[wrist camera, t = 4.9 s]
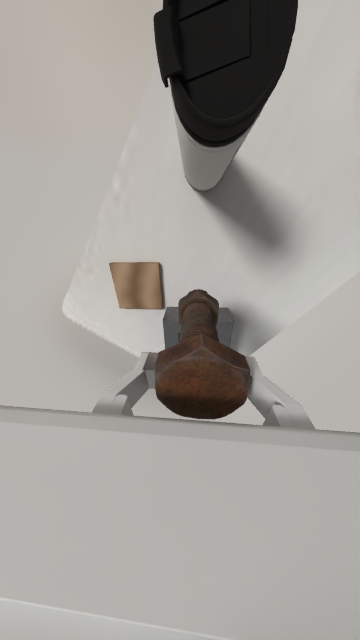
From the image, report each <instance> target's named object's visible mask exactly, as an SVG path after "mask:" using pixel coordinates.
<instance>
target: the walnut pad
mask: <svg viewBox="0 0 360 640" xmlns="http://www.w3.org/2000/svg"><path fill="white" fill-rule="evenodd" d="M109 266H110V270H111V274H112V278H113V282H114V286H115V290H116V294H117V298H118V302H119V307H120V308H140V309H162V308H163V302H162V290H161V279H160V267H159V262H138V263H109Z"/></svg>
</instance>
